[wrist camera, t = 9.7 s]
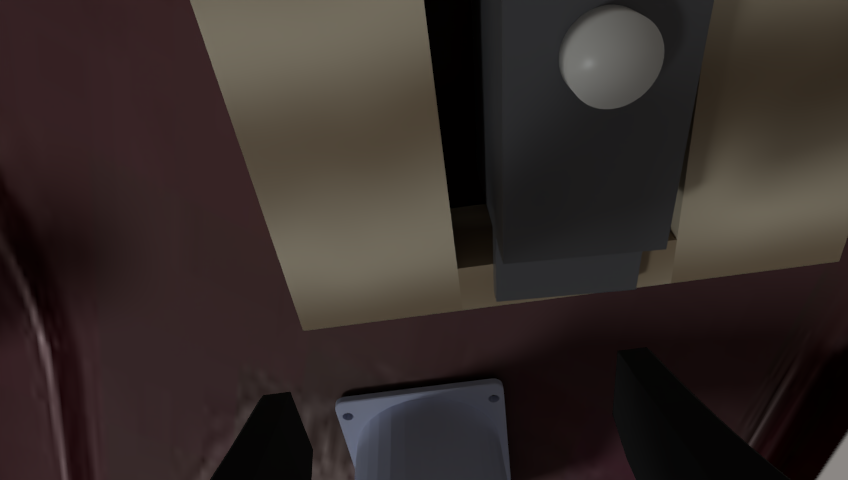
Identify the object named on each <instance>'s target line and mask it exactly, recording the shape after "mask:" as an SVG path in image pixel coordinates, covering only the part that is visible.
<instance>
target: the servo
mask: <svg viewBox="0 0 848 480" xmlns="http://www.w3.org/2000/svg"><path fill="white" fill-rule="evenodd" d="M713 3H714V0H471V4H472V34H473V64H474V94H475V125H476V155H477V172H478V176H479V179H480V183H481V186H482V190H483V194H484V197H485V201H486V204H487V208H488V212H489V215H490V219H491V222H492V226H493V279H494V294H495V298H496V302H501V301H512V300H523V299H534V298H546V297H557V296H568V295H579V294H590V293H601V292H612V291H623V290H635V289H636V287H637V281H638V275H639V269H640V263H641V256H642V252H643V251H654V250H665V249H667V243H668V238H669V233H670V228H671V223H672V217H673V212H674V207H675V202H676V196H677V191H678V186H679V181H680V176H681V170H682V165H683V160H684V155H685V149H686V144H687V139H688V134H689V129H690V123H691V118H692V113H693V108H694V103H695V97H696V92H697V87H698V82H699V76H700V71H701V66H702V61H703V56H704V50H705V45H706V40H707V35H708V29H709V24H710V19H711V14H712V9H713Z"/></svg>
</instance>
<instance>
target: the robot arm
mask: <svg viewBox="0 0 848 480" xmlns="http://www.w3.org/2000/svg"><path fill="white" fill-rule="evenodd" d="M492 395H495V396H492ZM335 410H336V413H337V416H338V419H339V422H340V425H341V428H342V431H343V434H344V437H345V440H346V443H347V446H348V449H349V452H350V455H351V458H352V461H353V464H354V467H355V480H511V475H510V462H509V450H508V438H507V425H506V413H505V400H504V389H503V384H502V382H501V381H500V380H498V379H495V378H491V379H483V380H475V381H467V382H459V383H451V384H443V385H435V386H427V387H419V388H411V389H403V390H395V391H387V392H379V393H371V394H362V395H354V396H346V397H342V398H339V399H338V400H337V402H336V407H335ZM347 413H350V414H347ZM613 416H614V420H615V423H616V426H617V429H618V433H619V436H620V439H621V442H622V445H623V448H624V451H625V454H626V457H627V460H628V462H629V465H630V467H631V469H632V471H633V474H634V476H635V478H636V480H790V479H789V478H788V477H787V476H785V475H784V474H783V473H782V472H780V471H779V470H778V469H777V468H776V467H774V466H773V465H772V464H771V463H769V462H768V461H767V460H766V459H765V458H764V457H762V456H761V455H760V454H759V453H758V452H756V451H755V450H754V449H753V448H752V447H750V446H749V445H748V444H747V443H746V442H745V441H744V440H742V439H741V438H740V437H739V436H738V435H737V434H736V433H734V432H733V431H732V430H731V429H730V428H729V427H728V426H727V425H726V424H725V423H724V422H723V421H721V420H720V419H719V418H718V417H717V416H716V415H715V414H714V413H713V412H712V411H711V410H709V409H708V408H707V407H706V406H705V405H704V404H703V403H702V402H701V401H700V400H699V399H698V398H697V397H696V396H695V395H694V394H693V393H692V392H691V391H690V390H689V389H688V388H687V387H686V386H685V385H684V384H683V383H682V382H681V381H680V380H679V379H678V378H677V377H676V376H675V375H674V374H673V373H672V372H671V371H670V370H669V369H668V368H667V367H666V366H665V365H664V364H663V363H662V362H661V361H660V360H659V359H658V358H657V357H656V356H655V355H654V354H653V353H652V351H650V350H649V349H648V348H647V347H645V348H637V349H629V350H621V351H618V353H617V366H616V378H615V390H614V403H613ZM312 458H313V449H312V446H311V444H310V441H309V438H308V436H307V433H306V431H305V428H304V426H303V423H302V421H301V418H300V416H299V413H298V410H297V408H296V405H295V403H294V400H293V398H292V395H291V393H290V392H286V393H278V394H270V395H263V396H262V398H261V399H260V400H259V402H258V403H257V405H256V407H255V408H254V410H253V412H252V413H251V415H250V417H249V418H248V420H247V422H246V423H245V425H244V427H243V428H242V430H241V432H240V433H239V435H238V437H237V438H236V440H235V441H234V443H233V445H232V446H231V448H230V450H229V451H228V453H227V454H226V456H225V457H224V459H223V461H222V462H221V464H220V465H219V467H218V468H217V470H216V471H215V473H214V474H213V476H212V477H211V479H210V480H311V477H312Z"/></svg>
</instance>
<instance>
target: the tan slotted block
mask: <svg viewBox="0 0 848 480" xmlns="http://www.w3.org/2000/svg"><path fill="white" fill-rule="evenodd" d="M190 1H191V4H192V7H193V10H194V13H195V16H196V19H197V22H198V25H199V28H200V31H201V33H202V36H203V39H204V42H205V45H206V48H207V51H208V54H209V57H210V60H211V63H212V66H213V69H214V71H215V74H216V77H217V80H218V83H219V86H220V89H221V92H222V95H223V98H224V101H225V104H226V106H227V109H228V112H229V115H230V118H231V121H232V124H233V127H234V130H235V133H236V136H237V139H238V142H239V144H240V147H241V150H242V153H243V156H244V159H245V162H246V165H247V168H248V171H249V174H250V177H251V180H252V182H253V185H254V188H255V191H256V194H257V197H258V200H259V203H260V206H261V209H262V212H263V215H264V218H265V220H266V223H267V226H268V229H269V232H270V235H271V238H272V241H273V244H274V247H275V250H276V253H277V256H278V258H279V261H280V264H281V267H282V270H283V273H284V276H285V279H286V282H287V285H288V288H289V291H290V294H291V296H292V299H293V302H294V305H295V308H296V311H297V314H298V317H299V320H300V323H301V326H302V329H303V331H306V330H314V329H322V328H330V327H337V326H345V325H353V324H360V323H368V322H376V321H383V320H391V319H399V318H407V317H414V316H422V315H430V314H437V313H445V312H453V311H461V310H468V309H476V308H484V307H491V306H499V305H507V304H515V303H522V302H530V301H538V300H545V299H553V298H561V297H568V296H576V295H568V296H557V297H546V298H534V299H523V300H512V301H501V302H496V298H495V294H494V279H493V226H492V222H491V219H490V215H489V212H488V208H487V204H480V205H472V206H465V207H458V208H451V209H450V205H449V197H448V189H447V181H446V173H445V165H444V157H443V149H442V141H441V133H440V126H439V118H438V110H437V102H436V94H435V86H434V78H433V70H432V62H431V54H430V46H429V38H428V30H427V22H426V14H425V6H424V0H190ZM847 236H848V0H714V3H713V9H712V14H711V19H710V24H709V29H708V35H707V40H706V45H705V50H704V56H703V61H702V66H701V71H700V76H699V82H698V87H697V92H696V97H695V103H694V108H693V113H692V118H691V123H690V129H689V134H688V139H687V144H686V149H685V155H684V160H683V165H682V170H681V176H680V181H679V186H678V191H677V196H676V202H675V207H674V212H673V217H672V223H671V228H670V233H669V238H668V243H667V249H665V250H654V251H643V252H642V256H641V263H640V269H639V275H638V281H637V287H636V288H638V287H646V286H653V285H661V284H669V283H676V282H684V281H692V280H699V279H707V278H715V277H723V276H730V275H738V274H746V273H753V272H761V271H769V270H777V269H784V268H792V267H800V266H807V265H815V264H823V263H831V262H838V261H839V260H840V257H841V254H842V251H843V248H844V245H845V242H846V239H847ZM590 294H592V293H590ZM579 295H584V294H579Z"/></svg>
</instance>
